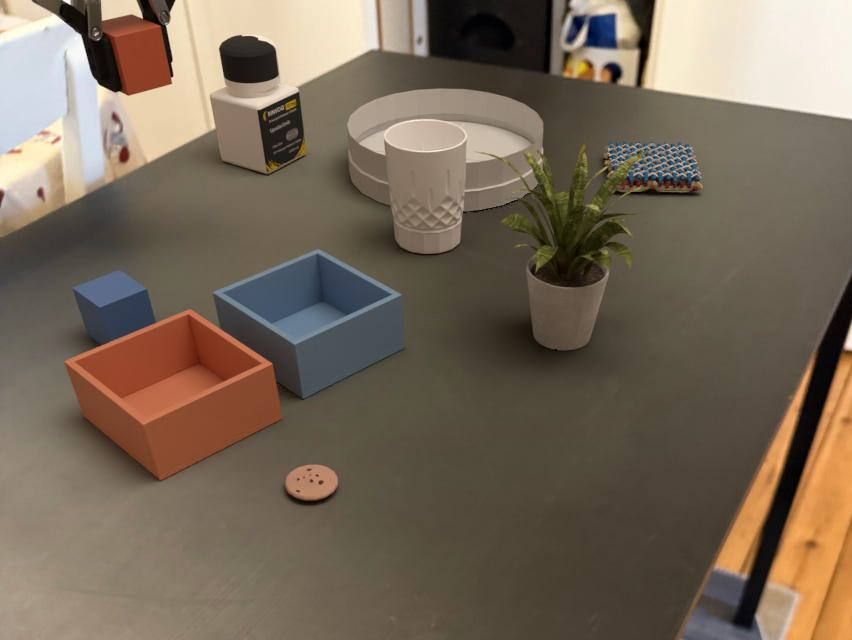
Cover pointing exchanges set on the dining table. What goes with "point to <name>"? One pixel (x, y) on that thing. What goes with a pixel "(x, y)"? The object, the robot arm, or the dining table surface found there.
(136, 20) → the terracotta block
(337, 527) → the dining table surface
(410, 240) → the white cup
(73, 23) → the robot arm
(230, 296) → the blue bin
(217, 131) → the medicine bottle
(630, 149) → the woven mat
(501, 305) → the dining table surface
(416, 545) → the dining table surface
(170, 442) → the terracotta bin
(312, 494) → the cookie
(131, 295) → the blue block
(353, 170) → the dish
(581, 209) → the house plant
